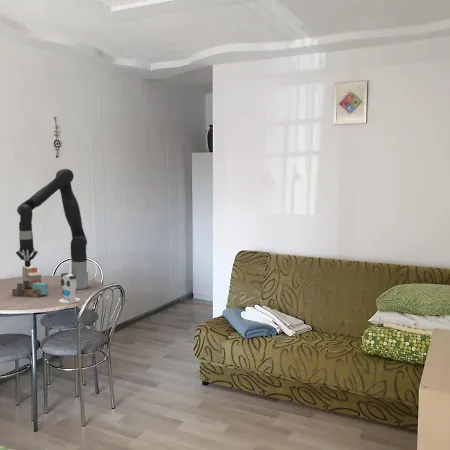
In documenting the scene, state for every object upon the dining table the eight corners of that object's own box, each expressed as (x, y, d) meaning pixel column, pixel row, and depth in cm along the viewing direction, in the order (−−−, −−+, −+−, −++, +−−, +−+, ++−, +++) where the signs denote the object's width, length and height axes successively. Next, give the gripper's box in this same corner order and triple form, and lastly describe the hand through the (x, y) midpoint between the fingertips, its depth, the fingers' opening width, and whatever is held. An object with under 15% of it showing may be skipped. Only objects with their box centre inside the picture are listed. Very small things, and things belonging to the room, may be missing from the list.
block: (48, 292, 284) (48, 282, 284) (44, 295, 279) (43, 284, 279) (36, 292, 285) (36, 282, 284) (32, 294, 280) (32, 284, 279)
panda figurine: (55, 299, 273) (54, 273, 271) (73, 296, 281) (73, 271, 279) (64, 304, 264) (64, 277, 263) (83, 300, 272) (83, 274, 271)
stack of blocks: (41, 289, 297) (41, 269, 296) (30, 290, 294) (30, 270, 293) (32, 282, 315) (32, 264, 314) (22, 283, 311) (22, 265, 310)
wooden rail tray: (45, 293, 286) (44, 281, 285) (38, 297, 278) (38, 284, 277) (19, 292, 288) (19, 280, 287) (12, 296, 279) (12, 283, 279)
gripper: (39, 237, 287) (41, 265, 289) (18, 237, 288) (20, 265, 290) (34, 238, 280) (35, 268, 281) (12, 239, 280) (13, 268, 282)
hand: (27, 266), depth 286 cm, fingers closed
